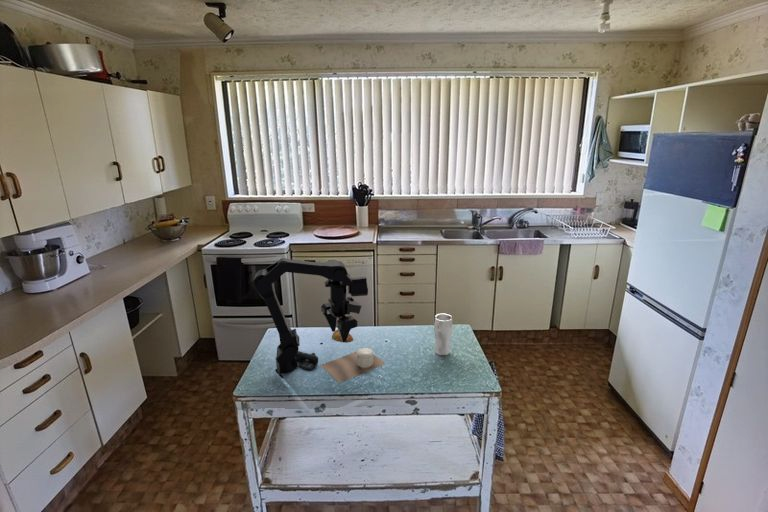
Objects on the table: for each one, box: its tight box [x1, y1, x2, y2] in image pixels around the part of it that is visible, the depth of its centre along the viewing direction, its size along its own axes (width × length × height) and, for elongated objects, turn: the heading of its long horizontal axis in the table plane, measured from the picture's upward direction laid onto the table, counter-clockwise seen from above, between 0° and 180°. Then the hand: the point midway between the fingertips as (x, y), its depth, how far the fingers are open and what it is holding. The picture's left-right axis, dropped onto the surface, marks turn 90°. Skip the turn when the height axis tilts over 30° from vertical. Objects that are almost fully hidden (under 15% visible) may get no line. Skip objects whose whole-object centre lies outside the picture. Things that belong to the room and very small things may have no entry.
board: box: [320, 350, 387, 384], centre depth 145 cm, size 20×14×1 cm
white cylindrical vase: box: [433, 313, 453, 357], centre depth 152 cm, size 7×7×15 cm
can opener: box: [295, 350, 319, 372], centre depth 147 cm, size 18×7×6 cm, turn 58°
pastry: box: [331, 329, 354, 343], centre depth 164 cm, size 9×7×4 cm
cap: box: [357, 347, 374, 368], centre depth 144 cm, size 6×6×4 cm
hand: (338, 336), depth 143 cm, fingers open, 9 cm apart
